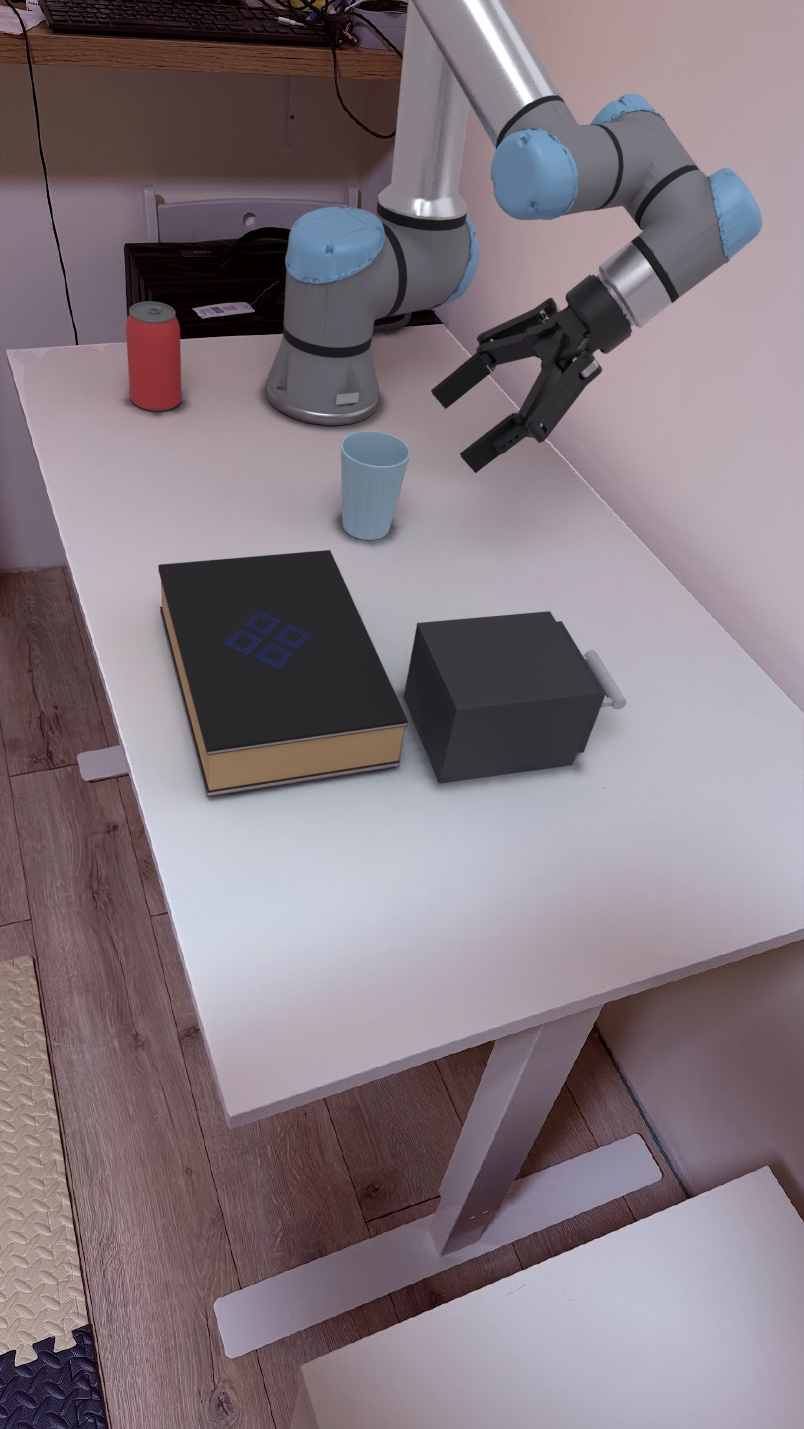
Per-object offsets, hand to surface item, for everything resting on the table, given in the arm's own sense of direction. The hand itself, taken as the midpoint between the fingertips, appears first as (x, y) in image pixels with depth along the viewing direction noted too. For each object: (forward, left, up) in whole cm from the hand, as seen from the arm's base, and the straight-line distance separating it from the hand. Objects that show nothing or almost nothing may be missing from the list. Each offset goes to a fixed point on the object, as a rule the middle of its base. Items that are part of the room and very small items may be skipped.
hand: (451, 430), depth 112 cm
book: (+33, -11, -13) cm, 37 cm away
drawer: (+30, +14, -12) cm, 35 cm away
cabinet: (+32, +10, -13) cm, 36 cm away
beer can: (-15, -40, -13) cm, 44 cm away
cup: (+3, -8, -13) cm, 15 cm away
